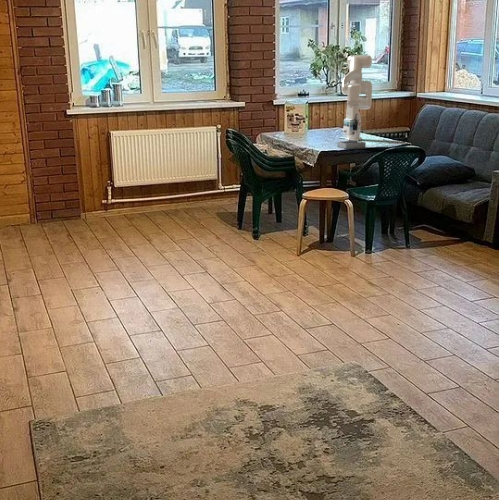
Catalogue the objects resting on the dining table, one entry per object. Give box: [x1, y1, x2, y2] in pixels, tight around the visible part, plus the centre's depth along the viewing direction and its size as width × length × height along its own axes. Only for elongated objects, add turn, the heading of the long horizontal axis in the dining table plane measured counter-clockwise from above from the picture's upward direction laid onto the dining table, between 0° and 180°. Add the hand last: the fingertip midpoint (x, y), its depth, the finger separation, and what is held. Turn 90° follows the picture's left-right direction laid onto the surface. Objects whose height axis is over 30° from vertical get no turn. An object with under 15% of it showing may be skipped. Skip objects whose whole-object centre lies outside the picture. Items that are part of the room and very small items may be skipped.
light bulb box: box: [342, 118, 362, 136], centre depth 490 cm, size 11×7×11 cm, turn 125°
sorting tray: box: [337, 140, 367, 150], centre depth 494 cm, size 12×16×4 cm
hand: (352, 129), depth 491 cm, fingers closed on light bulb box, 7 cm apart
